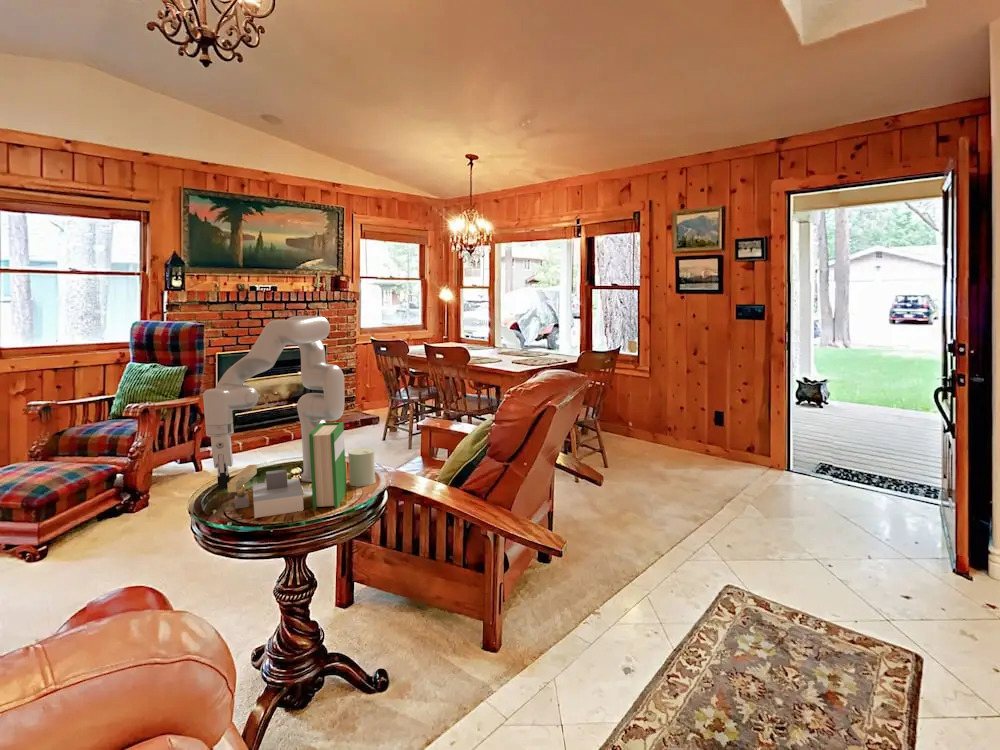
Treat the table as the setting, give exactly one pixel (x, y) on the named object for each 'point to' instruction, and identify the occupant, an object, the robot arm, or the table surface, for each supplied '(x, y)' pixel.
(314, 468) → the hardback book
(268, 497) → the snap lid
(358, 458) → the can
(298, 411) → the robot arm
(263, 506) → the box
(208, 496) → the table surface
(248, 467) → the tan wooden plank
